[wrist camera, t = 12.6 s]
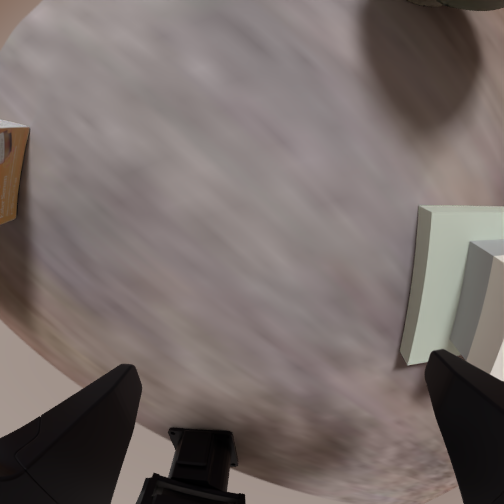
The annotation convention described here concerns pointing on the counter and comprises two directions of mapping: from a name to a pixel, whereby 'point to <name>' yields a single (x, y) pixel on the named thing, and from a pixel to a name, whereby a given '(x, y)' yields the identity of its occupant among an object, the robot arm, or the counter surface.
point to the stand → (442, 273)
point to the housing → (482, 308)
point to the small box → (10, 166)
